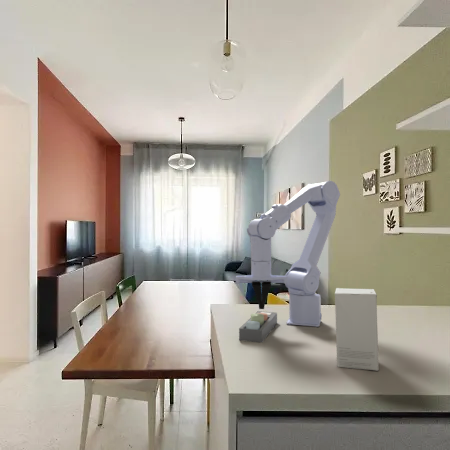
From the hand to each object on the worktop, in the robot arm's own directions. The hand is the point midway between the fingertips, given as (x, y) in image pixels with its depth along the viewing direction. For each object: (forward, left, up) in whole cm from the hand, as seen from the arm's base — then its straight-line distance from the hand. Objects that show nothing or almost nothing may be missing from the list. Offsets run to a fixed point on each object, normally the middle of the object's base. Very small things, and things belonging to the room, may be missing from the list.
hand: (261, 308), depth 102 cm
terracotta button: (0, 0, -5) cm, 5 cm away
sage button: (0, +5, -4) cm, 6 cm away
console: (0, +2, -6) cm, 6 cm away
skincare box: (-25, +20, -6) cm, 32 cm away
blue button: (0, +10, -5) cm, 11 cm away
